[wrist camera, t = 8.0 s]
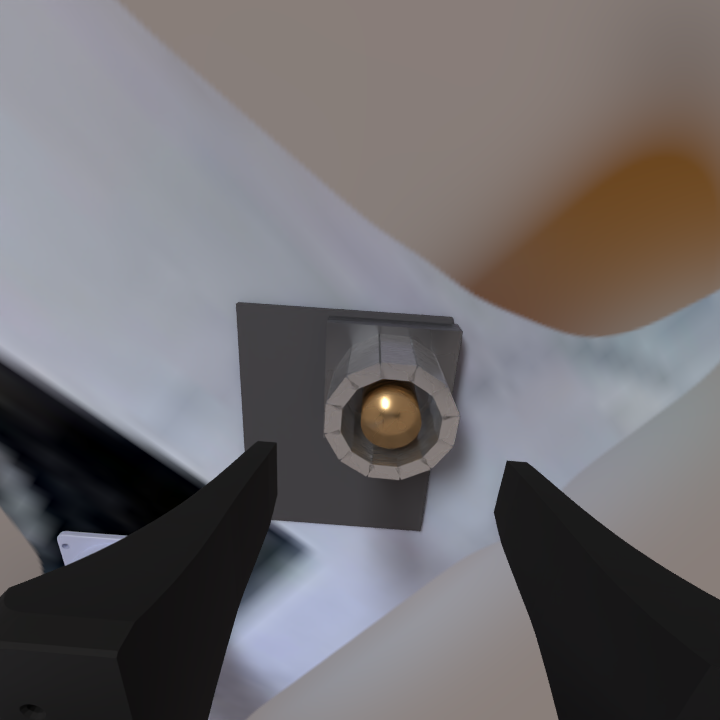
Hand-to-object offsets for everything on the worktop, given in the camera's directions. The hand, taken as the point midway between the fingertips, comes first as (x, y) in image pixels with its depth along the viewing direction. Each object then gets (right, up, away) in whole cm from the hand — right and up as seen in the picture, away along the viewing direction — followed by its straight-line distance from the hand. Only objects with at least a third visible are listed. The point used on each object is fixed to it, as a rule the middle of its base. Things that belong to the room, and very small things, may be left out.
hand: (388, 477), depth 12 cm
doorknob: (+1, +3, +9) cm, 9 cm away
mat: (-2, 0, +10) cm, 11 cm away
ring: (+1, +2, +8) cm, 8 cm away
